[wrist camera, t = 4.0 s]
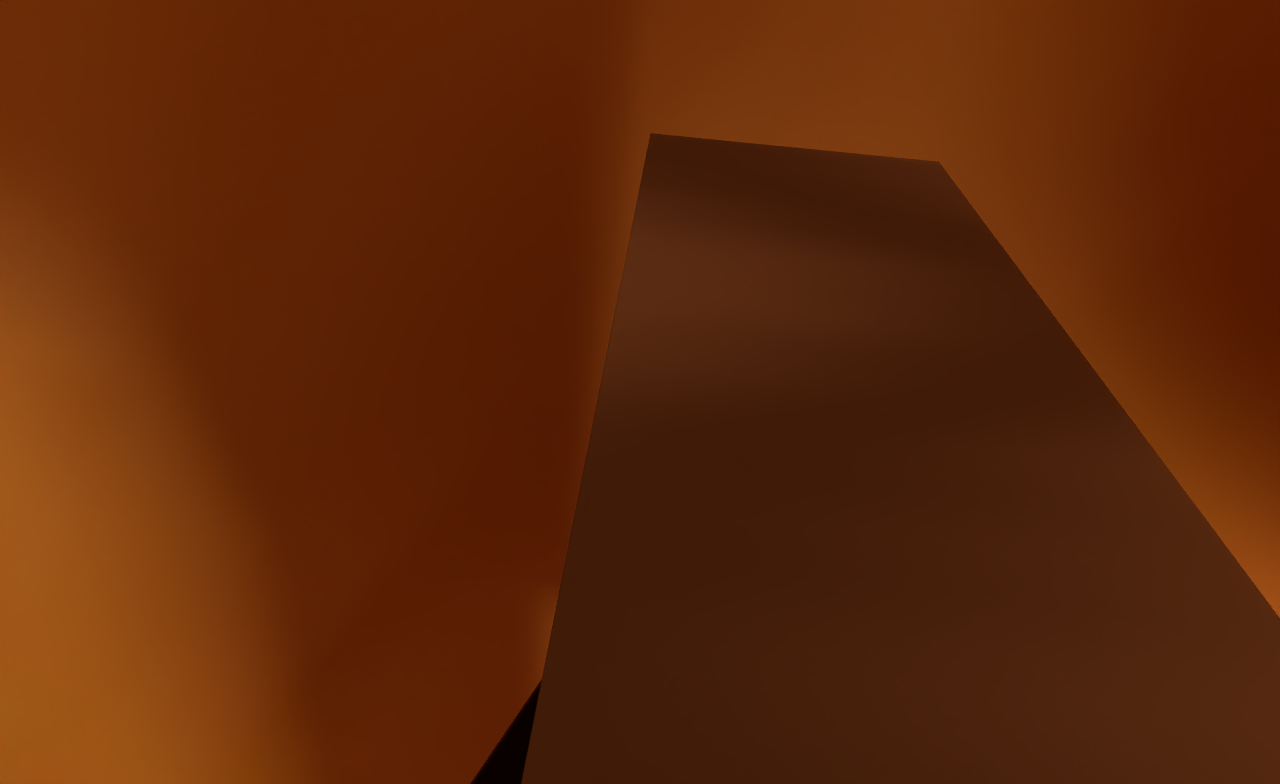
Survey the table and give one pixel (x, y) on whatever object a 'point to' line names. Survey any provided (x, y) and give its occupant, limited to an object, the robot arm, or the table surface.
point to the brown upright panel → (877, 514)
